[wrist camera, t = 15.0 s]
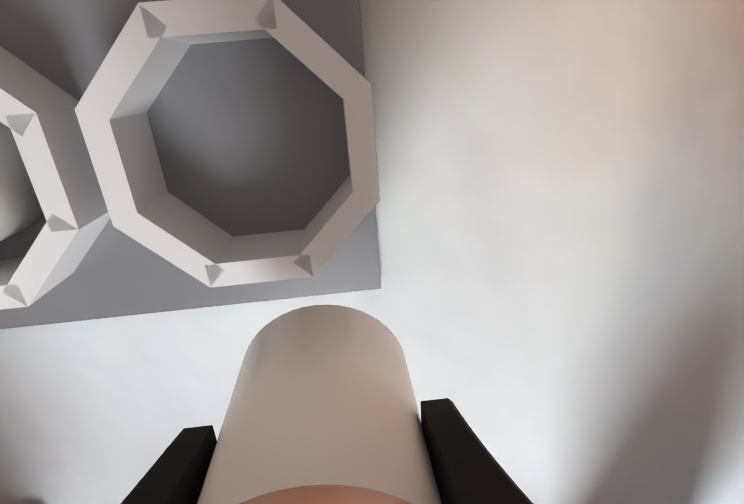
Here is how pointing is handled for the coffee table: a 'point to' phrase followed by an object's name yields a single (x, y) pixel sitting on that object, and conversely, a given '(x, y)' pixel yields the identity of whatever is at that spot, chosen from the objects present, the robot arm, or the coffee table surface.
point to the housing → (186, 155)
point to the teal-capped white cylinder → (15, 189)
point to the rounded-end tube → (322, 418)
